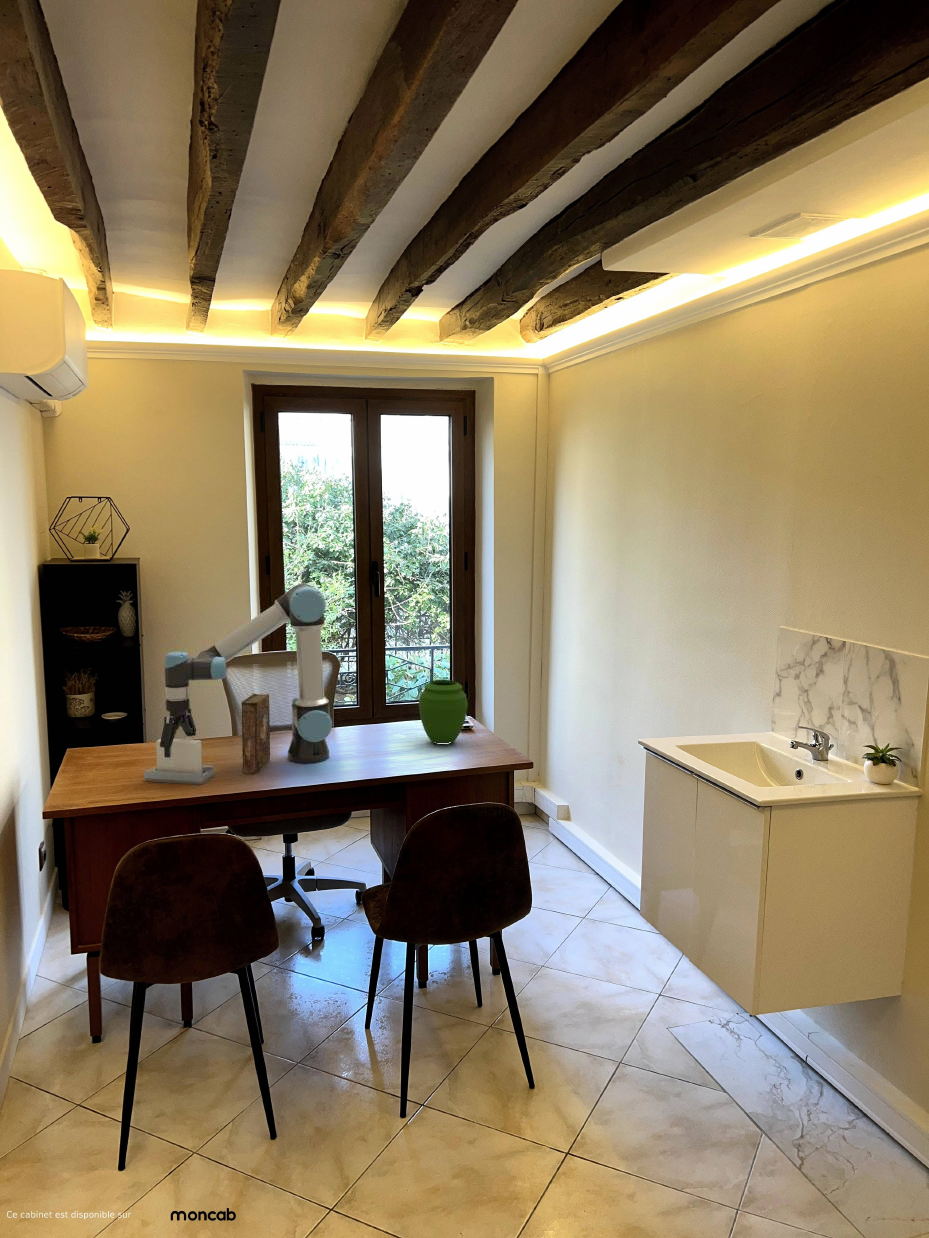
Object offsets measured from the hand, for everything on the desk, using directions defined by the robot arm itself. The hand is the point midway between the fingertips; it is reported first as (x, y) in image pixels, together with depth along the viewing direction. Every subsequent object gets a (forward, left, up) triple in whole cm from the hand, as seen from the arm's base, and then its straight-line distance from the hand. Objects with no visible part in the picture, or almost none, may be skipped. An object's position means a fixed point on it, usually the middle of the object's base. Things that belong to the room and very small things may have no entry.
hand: (179, 760), depth 274 cm
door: (0, 0, -5) cm, 5 cm away
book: (-20, -17, -6) cm, 27 cm away
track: (0, 0, -6) cm, 6 cm away
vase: (-79, -62, -6) cm, 101 cm away
